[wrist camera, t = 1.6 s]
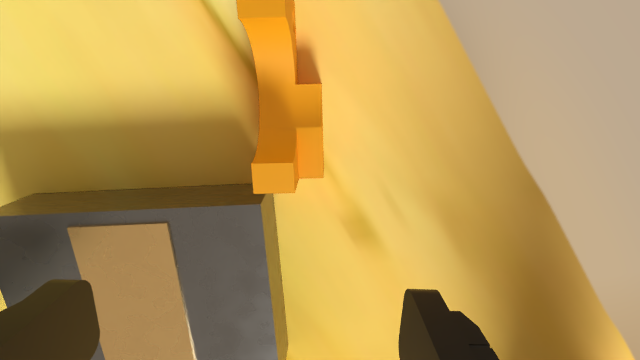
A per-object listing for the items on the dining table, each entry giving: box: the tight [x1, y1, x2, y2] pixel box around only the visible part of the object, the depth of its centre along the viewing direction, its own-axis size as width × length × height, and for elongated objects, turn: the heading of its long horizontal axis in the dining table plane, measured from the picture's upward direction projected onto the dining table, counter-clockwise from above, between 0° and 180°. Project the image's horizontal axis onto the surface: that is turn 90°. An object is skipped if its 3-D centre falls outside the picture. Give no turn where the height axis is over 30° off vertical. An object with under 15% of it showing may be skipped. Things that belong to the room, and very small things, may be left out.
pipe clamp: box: [237, 0, 324, 194], centre depth 23 cm, size 12×4×6 cm, turn 2°
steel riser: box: [0, 183, 288, 360], centre depth 28 cm, size 20×16×5 cm
